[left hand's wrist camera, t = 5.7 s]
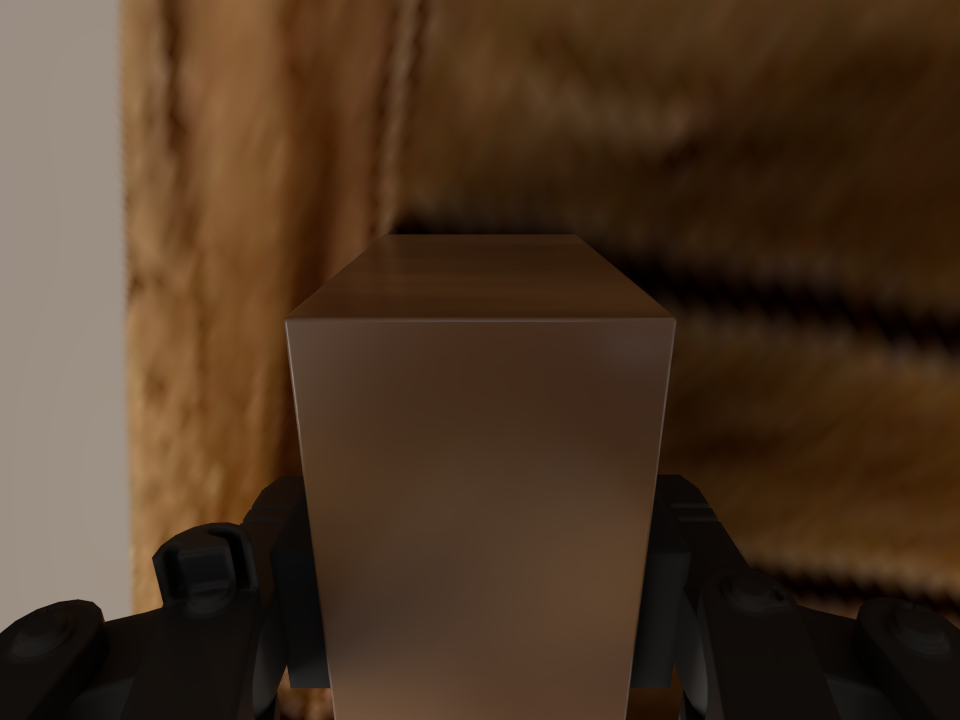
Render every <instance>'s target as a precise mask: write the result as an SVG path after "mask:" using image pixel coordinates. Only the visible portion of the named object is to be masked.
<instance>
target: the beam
mask: <svg viewBox="0 0 960 720" xmlns="http://www.w3.org/2000/svg"><path fill="white" fill-rule="evenodd" d="M676 323H677V320H676V318H675V317H674V316H673V315H672V314H671V313H669V312H668V311H667V310H666V309H665V308H663V307H662V306H661V305H660V304H659V303H657V302H656V301H655V300H654V299H653V298H651V297H650V296H649V295H648V294H647V293H645V292H644V291H643V290H642V289H641V288H639V287H638V286H637V285H636V284H635V283H633V282H632V281H631V280H630V279H629V278H627V277H626V276H625V275H624V274H623V273H621V272H620V271H619V270H618V269H617V268H615V267H614V266H613V265H612V264H611V263H609V262H608V261H607V260H606V259H605V258H604V257H602V256H601V255H600V254H599V253H598V252H596V251H595V250H594V249H593V248H592V247H590V246H589V245H588V244H587V243H586V242H584V241H583V240H582V239H581V238H580V237H578V236H577V235H575V234H385V235H383V236H382V237H381V238H380V239H379V240H377V241H376V242H375V243H374V244H373V245H371V246H370V247H369V248H368V249H367V250H365V251H364V252H363V253H362V254H361V255H359V256H358V257H357V258H356V259H355V260H353V261H352V262H351V263H350V264H349V265H347V266H346V267H345V268H344V269H343V270H341V271H340V272H339V273H338V274H337V275H335V276H334V277H333V278H332V279H331V280H329V281H328V282H327V283H326V284H325V285H323V286H322V287H321V288H320V289H319V290H317V291H316V292H315V293H314V294H313V295H311V296H310V297H309V298H308V299H307V300H305V301H304V302H303V303H302V304H301V305H299V306H298V307H297V308H296V309H295V310H293V311H292V312H291V313H290V314H289V315H287V316H286V317H285V318H284V327H285V335H286V343H287V351H288V358H289V366H290V374H291V382H292V390H293V398H294V406H295V413H296V421H297V429H298V437H299V445H300V453H301V460H302V468H303V476H304V484H305V492H306V500H307V507H308V515H309V523H310V531H311V539H312V547H313V554H314V562H315V570H316V578H317V586H318V594H319V602H320V609H321V617H322V625H323V633H324V641H325V649H326V656H327V664H328V672H329V680H330V688H331V696H332V703H333V711H334V719H335V720H626V714H627V706H628V698H629V690H630V683H631V675H632V667H633V659H634V651H635V644H636V636H637V628H638V620H639V612H640V605H641V597H642V589H643V581H644V573H645V565H646V558H647V550H648V542H649V534H650V526H651V519H652V511H653V503H654V495H655V487H656V479H657V472H658V464H659V456H660V448H661V440H662V433H663V425H664V417H665V409H666V401H667V393H668V386H669V378H670V370H671V362H672V354H673V347H674V339H675V331H676Z"/></svg>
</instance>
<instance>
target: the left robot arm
mask: <svg viewBox="0 0 960 720" xmlns="http://www.w3.org/2000/svg"><path fill="white" fill-rule="evenodd" d="M152 560H153V564H154V568H155V572H156V576H157V580H158V584H159V588H160V592H161V596H162V600H163V606H162V608H159V609H155V610H152V611H149V612H145V613H141V614H137V615H132V616H128V617H124V618H120V619H115V620H111V621H107V622H105V620H104V617H103V614H102V611H101V609H100V608H99V607H98V606H97V605H96V604H95V603H93V602H90V601H85V600H79V599H77V600H70V601H62V602H57V603H54V604H51V605H48V606H45V607H42V608H40V609H37V610H35V611H33V612H31V613H29V614H28V615H26V616H24V617H22V618H20V619H18V620H16V621H15V622H14V623H13V624H11V625H10V626H9V627H8V628H6V629H5V630H4V631H2V632H1V633H0V720H280V706H279V699H278V693H277V689H278V686H279V684H280V681H281V679H282V676H283V673H284V671H285V668H286V665H287V667H288V673H289V680H290V686H291V688H330V680H329V672H328V664H327V656H326V649H325V641H324V633H323V625H322V617H321V609H320V602H319V594H318V586H317V578H316V570H315V562H314V554H313V547H312V539H311V531H310V523H309V515H308V507H307V500H306V492H305V484H304V476H281V477H280V478H278V479H277V480H276V481H274V482H273V483H272V484H270V485H269V486H268V487H266V488H265V489H264V490H262V492H261V493H260V495H259V496H258V498H257V499H256V501H255V502H254V504H253V506H252V510H249V512H248V513H247V515H246V516H245V518H244V519H243V524H240V525H236V524H232V523H229V522H227V523H209V524H205V525H201V526H197V527H193V528H191V529H188V530H186V531H184V532H182V533H180V534H177V535H175V536H174V537H173V538H171V539H170V540H168V541H167V542H166V543H164V544H163V545H162V546H161V547H160V548H159V549H158V551H157V552H156V553H155V555H154V556H153V557H152ZM673 663H674V664H675V667H676V669H677V672H678V675H679V677H680V680H681V683H682V685H683V693H682V699H681V705H680V710H679V716H678V720H960V630H959V629H958V628H957V627H956V626H954V625H953V624H952V623H951V622H949V621H948V620H947V619H946V618H944V617H942V616H940V615H938V614H936V613H934V612H933V611H931V610H929V609H927V608H925V607H923V606H920V605H917V604H914V603H911V602H908V601H905V600H901V599H894V598H886V597H881V598H875V599H869V600H867V601H866V602H865V603H864V604H863V605H862V606H861V607H860V609H859V612H858V616H857V619H856V620H855V619H851V618H846V617H842V616H838V615H834V614H829V613H825V612H821V611H816V610H813V609H809V608H806V607H803V606H800V605H797V603H796V601H795V600H794V598H793V597H792V595H791V594H790V592H789V590H788V589H786V588H785V587H784V586H783V585H781V584H780V583H779V582H778V581H777V580H775V579H774V578H772V577H770V576H768V575H766V574H764V573H762V572H760V571H758V570H755V569H752V568H750V567H749V565H748V564H747V562H746V561H745V559H744V558H743V556H742V555H741V553H740V552H739V550H738V549H737V547H736V545H735V544H734V542H733V541H732V539H731V538H730V536H729V535H728V533H727V532H726V530H725V529H724V527H723V526H722V524H721V523H720V522H718V518H717V516H716V515H715V513H714V512H713V510H712V509H711V508H709V504H708V503H707V501H706V500H705V498H704V496H703V495H702V493H701V492H700V490H699V489H698V488H697V487H695V486H694V485H693V484H691V483H690V482H689V481H687V480H686V479H685V478H683V477H682V476H680V475H657V479H656V487H655V495H654V503H653V511H652V519H651V526H650V534H649V542H648V550H647V558H646V565H645V573H644V581H643V589H642V597H641V605H640V612H639V620H638V628H637V636H636V644H635V651H634V659H633V667H632V675H631V683H630V688H670V682H671V676H672V670H673Z"/></svg>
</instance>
